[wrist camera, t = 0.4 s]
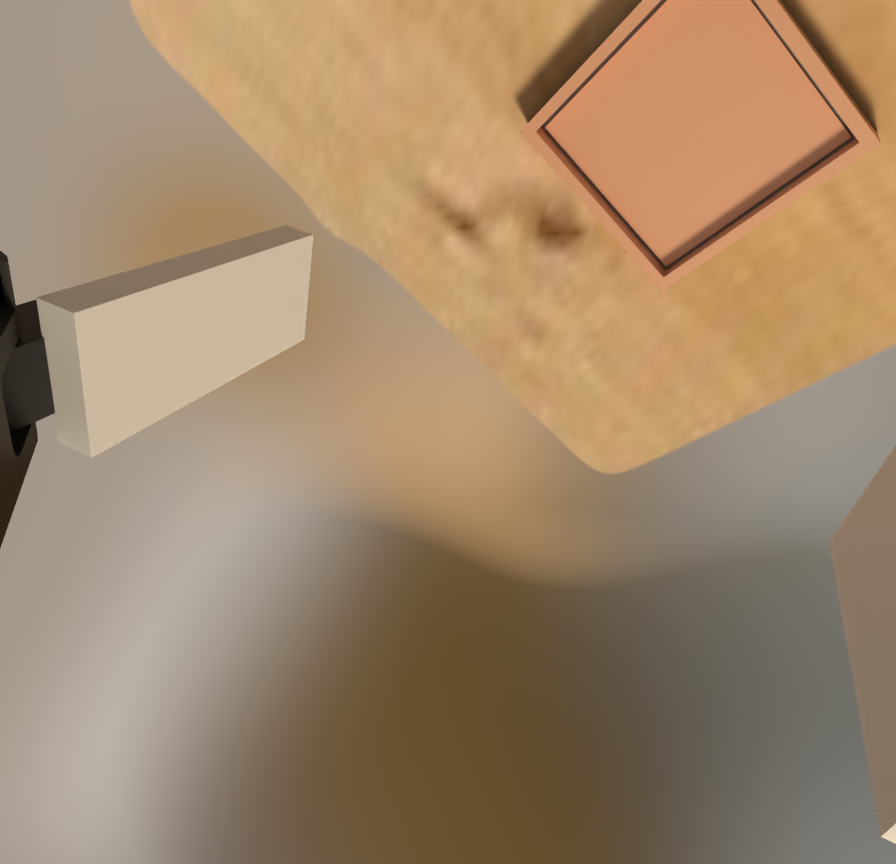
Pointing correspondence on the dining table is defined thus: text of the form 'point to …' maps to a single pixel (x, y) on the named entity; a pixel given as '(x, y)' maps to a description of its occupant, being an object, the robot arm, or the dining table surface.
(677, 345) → the dining table surface
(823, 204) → the dining table surface
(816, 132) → the socket stand
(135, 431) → the robot arm
